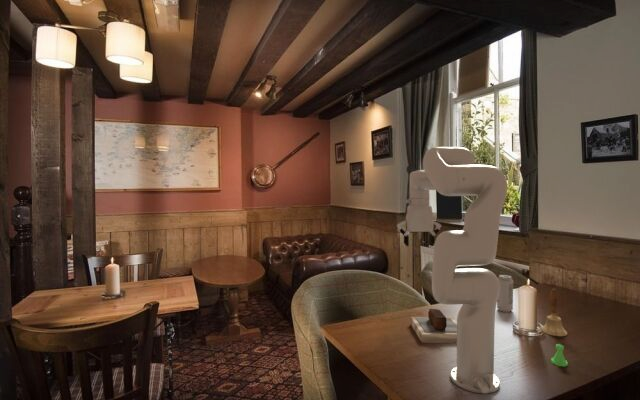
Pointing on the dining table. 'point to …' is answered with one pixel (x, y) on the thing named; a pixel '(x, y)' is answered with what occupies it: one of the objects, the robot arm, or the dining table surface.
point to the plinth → (430, 334)
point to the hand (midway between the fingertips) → (418, 245)
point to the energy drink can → (505, 293)
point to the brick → (437, 319)
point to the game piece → (559, 357)
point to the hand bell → (554, 318)
